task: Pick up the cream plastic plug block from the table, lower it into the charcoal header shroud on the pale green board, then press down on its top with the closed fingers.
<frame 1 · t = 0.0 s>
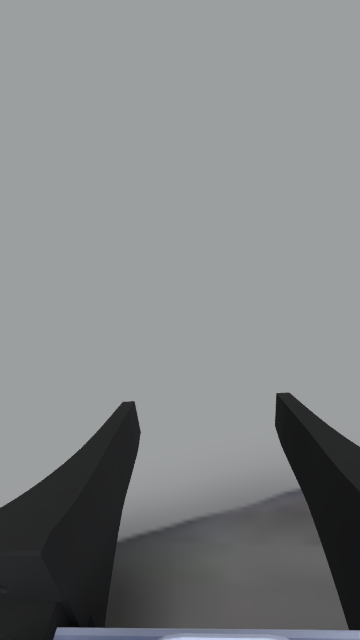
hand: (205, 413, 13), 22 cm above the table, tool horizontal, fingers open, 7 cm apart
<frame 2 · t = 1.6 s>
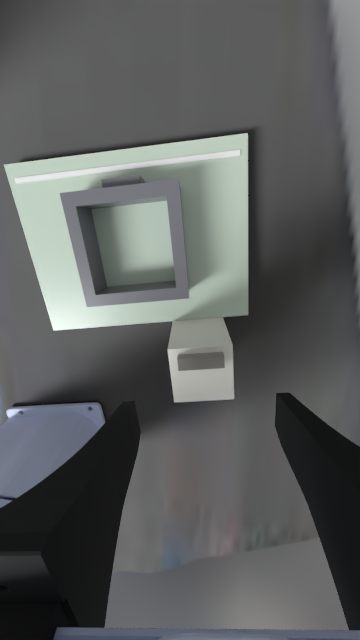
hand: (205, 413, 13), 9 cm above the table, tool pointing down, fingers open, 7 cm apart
plug: (198, 336, 21), on the table
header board: (139, 245, 19), on the table
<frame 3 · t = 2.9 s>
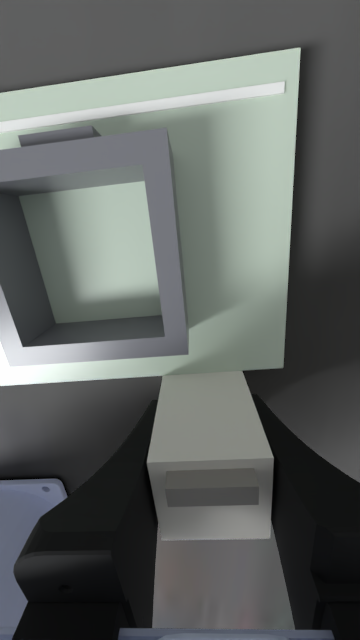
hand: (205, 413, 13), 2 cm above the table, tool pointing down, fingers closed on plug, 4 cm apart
plug: (203, 393, 14), on the table, touching gripper
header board: (107, 256, 12), on the table
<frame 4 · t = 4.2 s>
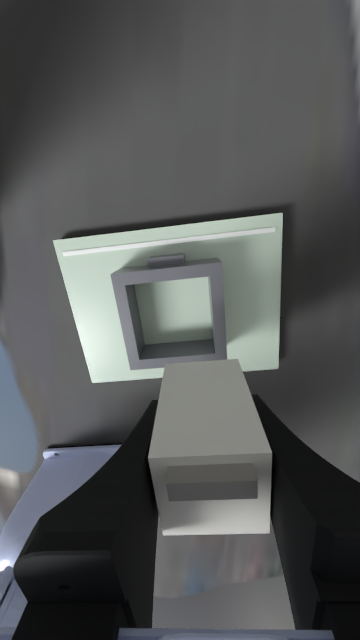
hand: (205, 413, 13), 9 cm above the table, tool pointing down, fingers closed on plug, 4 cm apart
plug: (203, 391, 14), point 7 cm above the table, touching gripper
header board: (175, 305, 20), on the table
when the fingers open (4 cm above the table, at t = 5.8 s): plug drops 1 cm, resting on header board.
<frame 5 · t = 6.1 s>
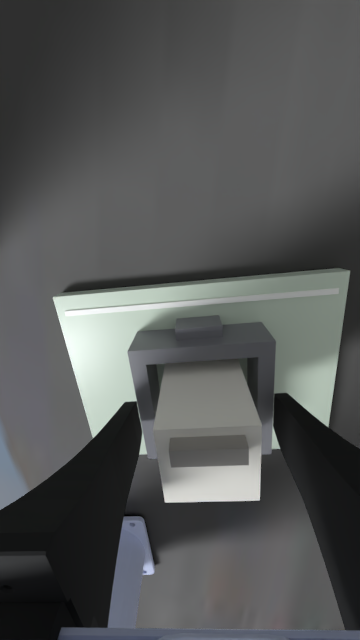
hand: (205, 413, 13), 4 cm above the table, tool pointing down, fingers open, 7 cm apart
plug: (202, 379, 15), point 1 cm above the table, touching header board
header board: (201, 370, 16), on the table
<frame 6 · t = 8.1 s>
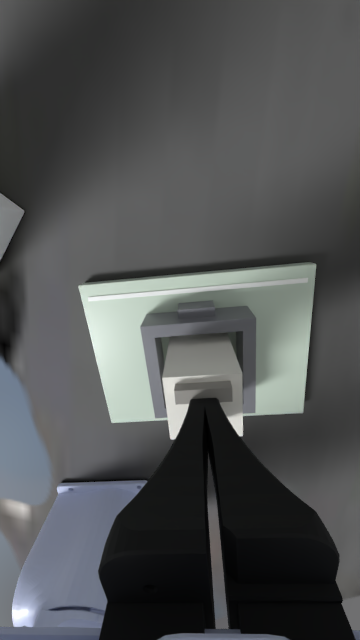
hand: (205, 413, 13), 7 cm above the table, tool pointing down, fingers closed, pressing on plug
plug: (199, 354, 19), point 1 cm above the table, touching gripper, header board
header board: (199, 348, 20), on the table
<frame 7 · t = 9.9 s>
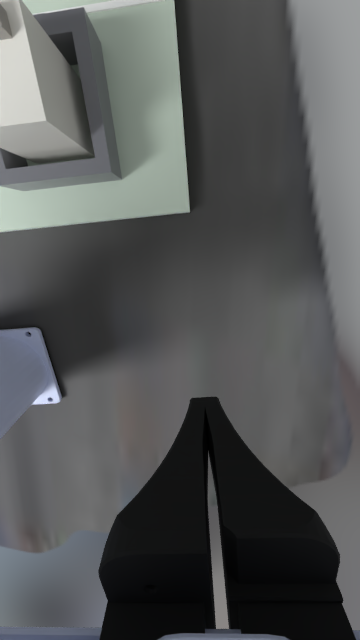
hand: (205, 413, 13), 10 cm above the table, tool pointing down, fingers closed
plug: (58, 124, 16), point 1 cm above the table, touching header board
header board: (65, 129, 17), on the table
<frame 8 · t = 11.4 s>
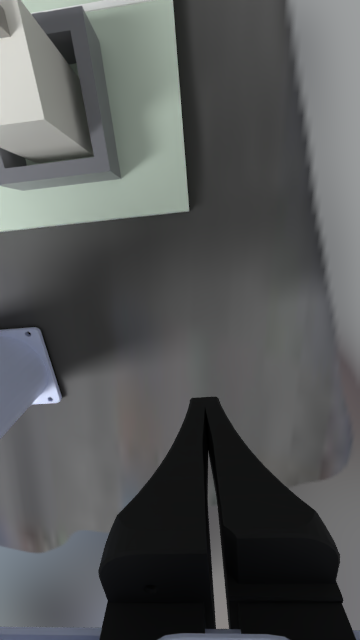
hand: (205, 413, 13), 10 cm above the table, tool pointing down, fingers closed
plug: (57, 123, 16), point 1 cm above the table, touching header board
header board: (64, 128, 17), on the table
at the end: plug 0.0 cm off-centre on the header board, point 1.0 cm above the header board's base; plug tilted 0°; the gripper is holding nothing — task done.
